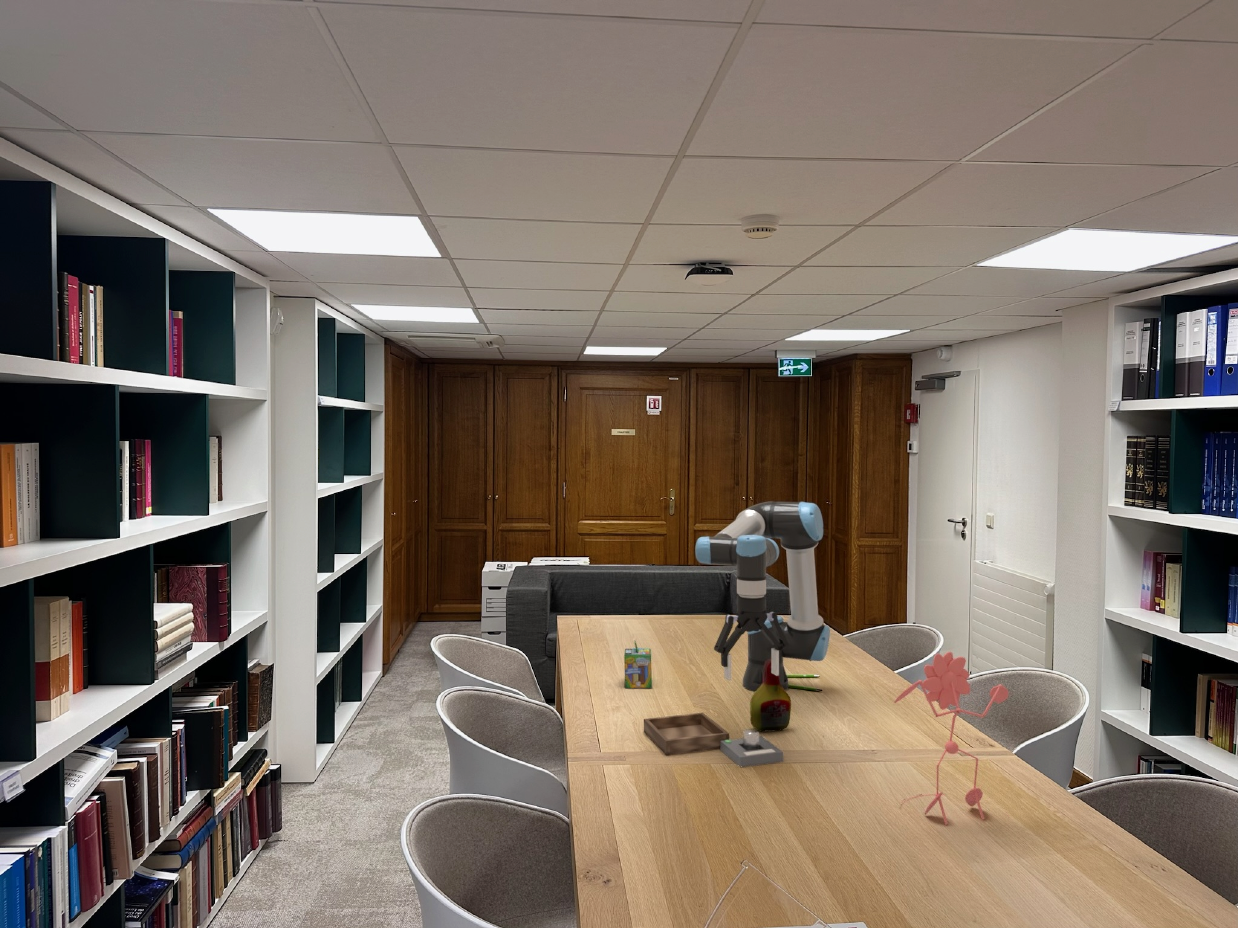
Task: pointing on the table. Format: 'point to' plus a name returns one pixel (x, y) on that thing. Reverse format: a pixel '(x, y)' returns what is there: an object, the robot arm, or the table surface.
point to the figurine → (946, 687)
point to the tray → (685, 733)
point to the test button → (750, 739)
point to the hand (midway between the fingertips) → (751, 676)
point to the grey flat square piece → (751, 752)
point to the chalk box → (638, 668)
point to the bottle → (770, 704)
